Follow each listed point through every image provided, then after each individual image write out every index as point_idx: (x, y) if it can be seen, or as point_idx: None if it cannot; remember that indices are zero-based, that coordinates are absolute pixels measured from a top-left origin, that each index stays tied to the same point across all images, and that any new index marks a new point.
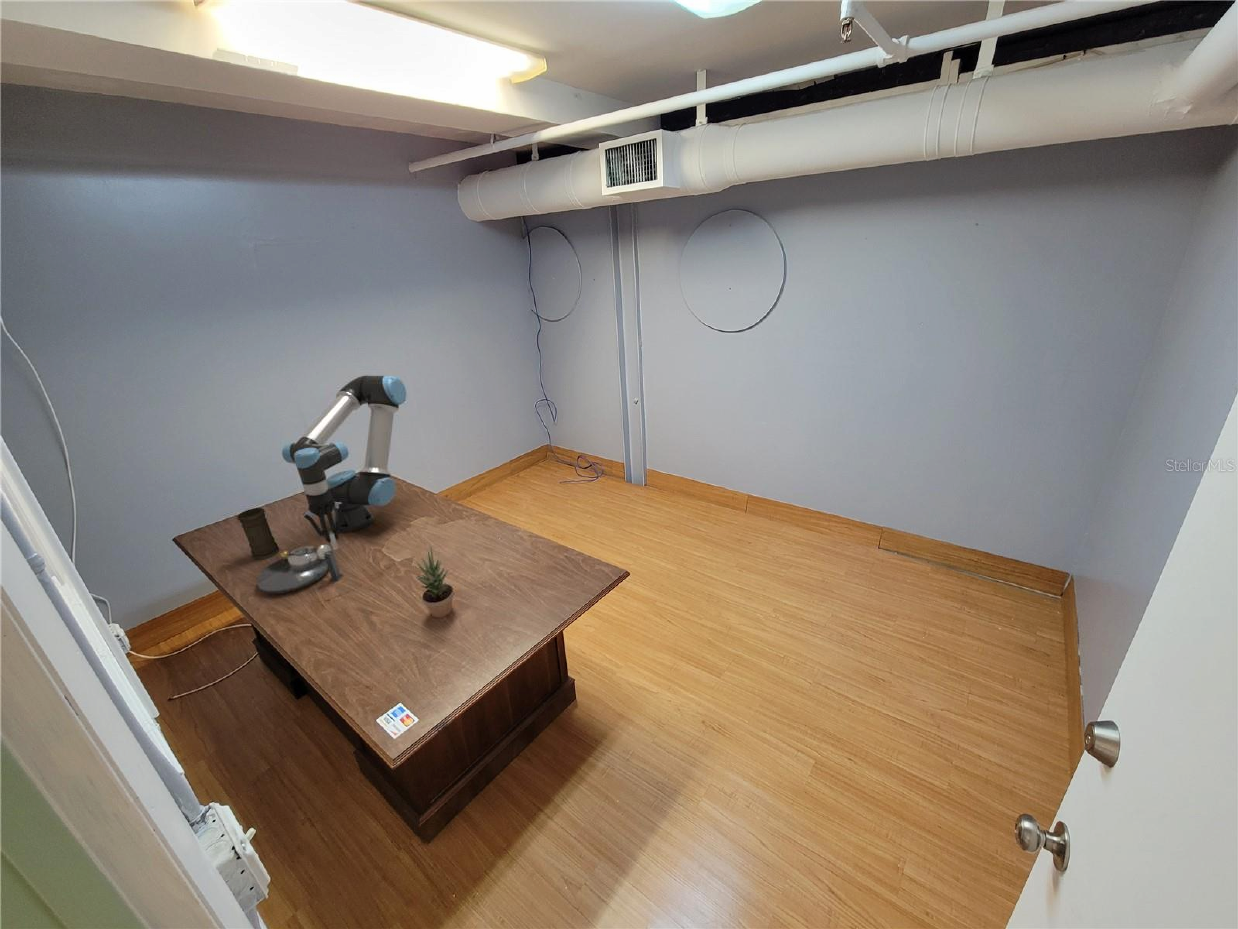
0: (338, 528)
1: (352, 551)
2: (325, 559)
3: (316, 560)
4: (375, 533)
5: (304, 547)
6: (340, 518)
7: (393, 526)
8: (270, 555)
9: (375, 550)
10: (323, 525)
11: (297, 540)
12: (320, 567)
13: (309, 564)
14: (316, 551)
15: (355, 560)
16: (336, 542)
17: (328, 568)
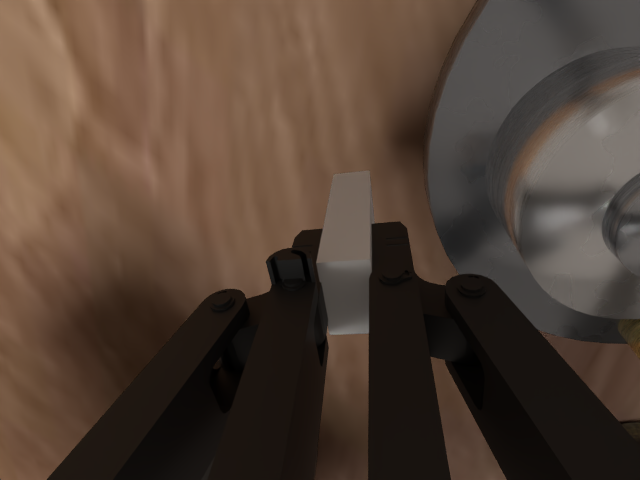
0: (238, 299)
1: (266, 209)
2: (451, 133)
3: (543, 100)
4: (138, 311)
5: (629, 266)
6: (111, 422)
7: (48, 317)
8: (628, 429)
9: (127, 119)
10: (420, 399)
11: (473, 465)
12: (533, 9)
13: (629, 56)
14: (532, 169)
15: (260, 72)
16: (328, 202)
17: (456, 35)
